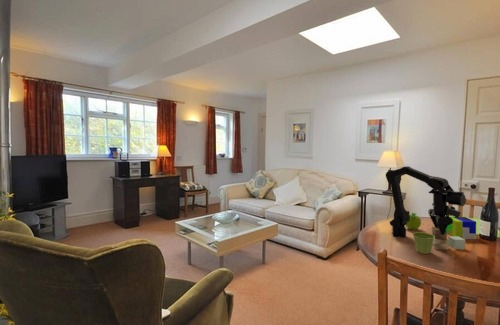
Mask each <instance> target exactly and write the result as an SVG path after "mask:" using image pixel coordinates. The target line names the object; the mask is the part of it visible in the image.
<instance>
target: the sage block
mask: <svg viewBox="0 0 500 325" xmlns="http://www.w3.org/2000/svg"><path fill="white" fill-rule="evenodd" d="M447 237H448V238H447V240H448V247H450V248H452V249H454V250H466V239H463V238H461V237H459V236H451V235H450V236H447Z"/></svg>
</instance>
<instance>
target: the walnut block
mask: <svg viewBox="0 0 500 325" xmlns="http://www.w3.org/2000/svg"><path fill="white" fill-rule="evenodd" d="M431 231H432V232H431V234H432V235H434V236H435V239H439V240H448V238H447V237H448V236H447V235H448V234H447V230H446V231H445V234H444V235H441V232H440V230H439V228H438V227H435V226H432V230H431Z"/></svg>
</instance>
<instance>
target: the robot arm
mask: <svg viewBox="0 0 500 325" xmlns="http://www.w3.org/2000/svg"><path fill="white" fill-rule="evenodd" d="M406 175H408V176H409V177H410V178H411V177H412V178H413V179H416V180H418V181H420V182H423V183H425V184H426V185H427V186H428V187H430V188H431V189H430V191H428V194H433V195H432V197H433V200H432V203H431V205H432V208H429V209H428V215H429V217H430V219H431V222H432V224H433V225H434V226H433V227H438V228H439V230H440V232H441V235H444V234H445V231H446V228H447V226H448V225H451V224H453V219H452V218H451V217H456V218H459V217H461V214H462V212H461V211H459V210H458V209H456V207H455V206H461V207H464V206H465V205H466V203H467V198H466V195H465V192H464V191H454V188H452V187H451V185H450V184H449V181H448V179H446V178H443V177H439V176H433V175H431V174H430V175H429V174H427V173H425V172H422V171H419V170H417V169H415V168H412V167H411V166H408V165H407V166H402V167H400V168H397V169H392V170H388V171H387V172H386V173H385V178H386V181H387V183H388V184H389V185H390V189H391V193H392V199H393V204H394V213H393V219H392V220H390V221H389V225H390V227H391V226H392V229H391V230H392V231H391V234H392V237H396V238H407V229H406V228H407V227H406V224H407V222H409V221H410V218H411V217H410V215H411V214H410V211H409V210H407V209H406V208H405V204H404V199H403V194H402V190H401V183H402V182H401V181H402V176H406ZM448 204H449V205H450V206H449V205H448ZM452 205H455V206H452Z"/></svg>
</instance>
